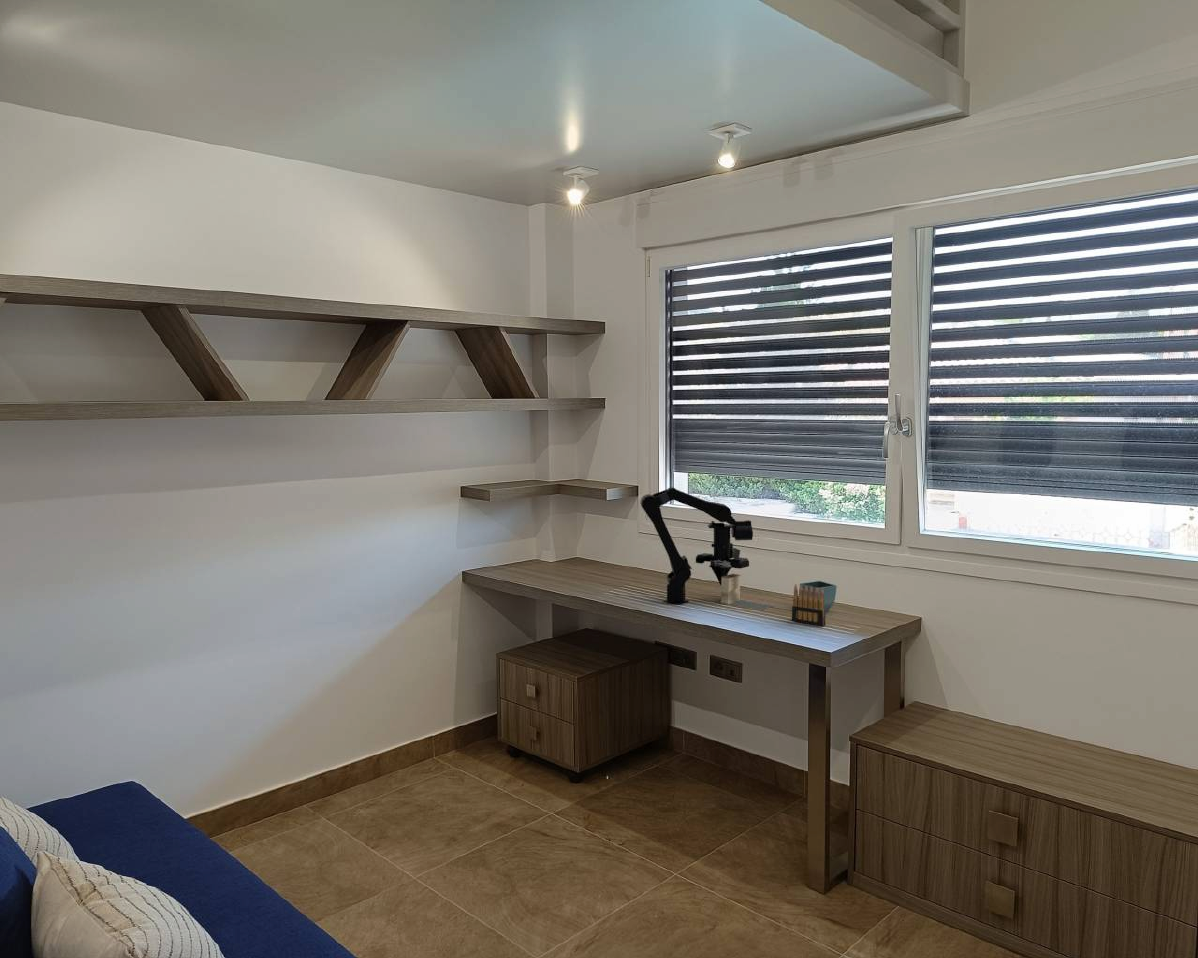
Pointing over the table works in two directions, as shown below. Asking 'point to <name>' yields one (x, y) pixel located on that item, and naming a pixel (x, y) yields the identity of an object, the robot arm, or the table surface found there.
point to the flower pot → (827, 589)
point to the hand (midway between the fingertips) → (722, 585)
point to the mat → (749, 605)
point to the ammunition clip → (808, 607)
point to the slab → (730, 588)
